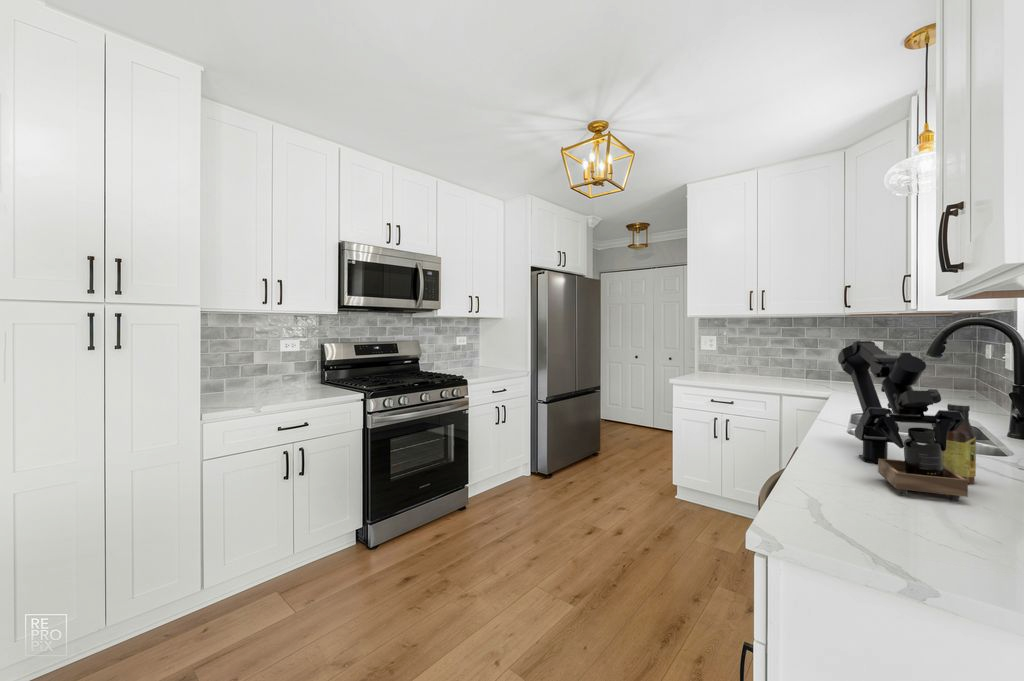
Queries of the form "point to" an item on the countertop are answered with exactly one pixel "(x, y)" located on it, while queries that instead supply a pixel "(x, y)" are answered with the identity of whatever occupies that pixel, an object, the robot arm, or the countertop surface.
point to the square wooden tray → (922, 480)
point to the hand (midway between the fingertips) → (922, 448)
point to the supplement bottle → (923, 453)
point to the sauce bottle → (961, 446)
